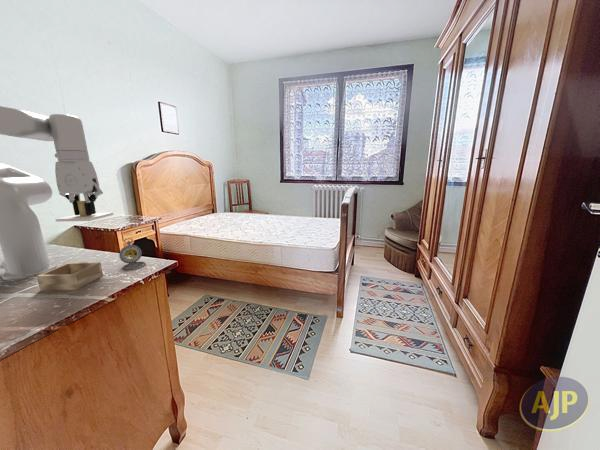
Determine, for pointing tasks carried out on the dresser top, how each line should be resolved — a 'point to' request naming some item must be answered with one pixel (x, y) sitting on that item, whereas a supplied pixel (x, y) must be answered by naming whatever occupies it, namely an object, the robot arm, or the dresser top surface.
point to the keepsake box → (70, 276)
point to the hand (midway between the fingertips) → (85, 213)
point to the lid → (83, 214)
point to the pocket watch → (131, 255)
